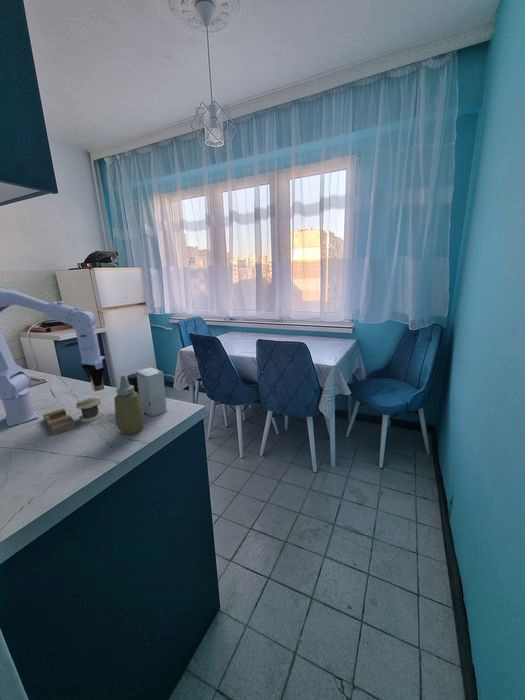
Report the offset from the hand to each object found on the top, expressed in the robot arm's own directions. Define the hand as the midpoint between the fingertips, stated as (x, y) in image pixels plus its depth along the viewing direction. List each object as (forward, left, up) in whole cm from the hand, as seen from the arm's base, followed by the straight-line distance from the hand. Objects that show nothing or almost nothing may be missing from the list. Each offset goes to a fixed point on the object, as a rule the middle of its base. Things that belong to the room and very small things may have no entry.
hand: (96, 384), depth 101 cm
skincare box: (+16, +12, -10) cm, 22 cm away
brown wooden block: (0, 0, -2) cm, 2 cm away
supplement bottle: (+8, +10, -10) cm, 16 cm away
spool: (+3, -4, -10) cm, 11 cm away
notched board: (0, -13, -10) cm, 16 cm away
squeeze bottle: (+24, +1, -10) cm, 26 cm away
